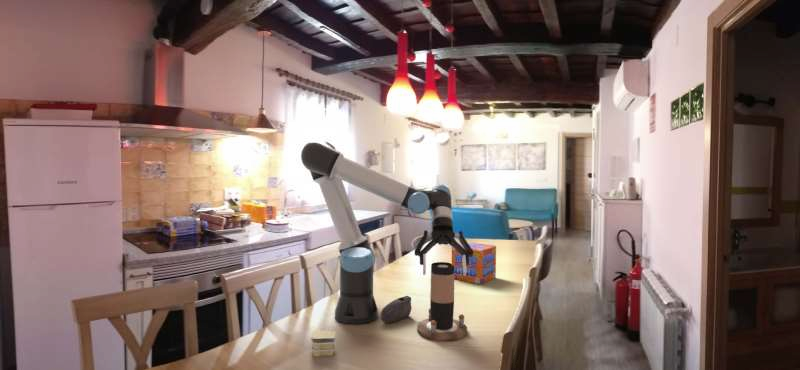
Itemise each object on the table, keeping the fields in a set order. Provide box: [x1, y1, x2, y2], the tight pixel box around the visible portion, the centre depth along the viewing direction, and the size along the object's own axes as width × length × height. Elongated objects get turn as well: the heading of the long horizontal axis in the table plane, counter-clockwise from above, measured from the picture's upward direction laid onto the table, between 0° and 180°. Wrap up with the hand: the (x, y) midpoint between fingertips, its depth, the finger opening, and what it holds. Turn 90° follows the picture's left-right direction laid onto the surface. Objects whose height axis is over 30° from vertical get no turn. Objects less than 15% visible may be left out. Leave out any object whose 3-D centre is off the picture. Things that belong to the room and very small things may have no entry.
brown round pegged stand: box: [416, 308, 468, 343], centre depth 134 cm, size 16×16×6 cm
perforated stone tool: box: [380, 295, 413, 324], centre depth 144 cm, size 15×5×7 cm, turn 136°
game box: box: [451, 241, 497, 285], centre depth 199 cm, size 16×16×16 cm
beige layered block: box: [310, 329, 336, 357], centre depth 118 cm, size 10×9×6 cm
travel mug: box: [429, 261, 455, 330], centre depth 134 cm, size 8×8×20 cm
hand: (444, 273), depth 139 cm, fingers open, 13 cm apart
